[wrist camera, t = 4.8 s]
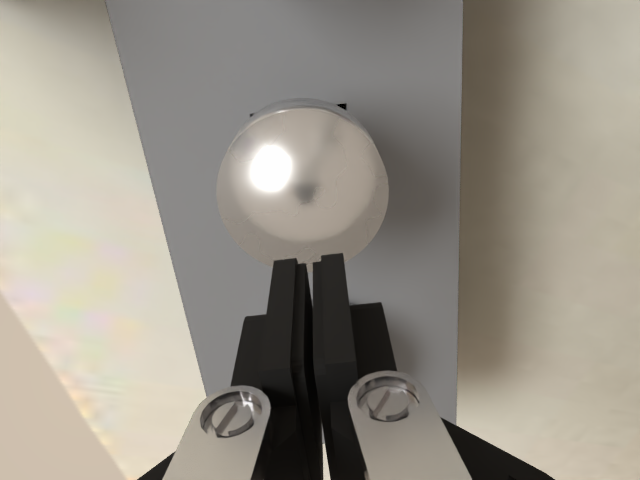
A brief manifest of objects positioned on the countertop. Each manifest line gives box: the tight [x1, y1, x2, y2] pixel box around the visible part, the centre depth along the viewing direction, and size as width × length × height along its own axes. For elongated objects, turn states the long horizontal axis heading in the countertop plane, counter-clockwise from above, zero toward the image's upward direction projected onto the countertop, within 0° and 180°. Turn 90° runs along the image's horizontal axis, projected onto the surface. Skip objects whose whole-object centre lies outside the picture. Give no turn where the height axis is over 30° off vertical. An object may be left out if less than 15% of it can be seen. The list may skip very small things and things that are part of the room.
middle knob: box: [216, 98, 389, 272], centre depth 19 cm, size 5×5×7 cm
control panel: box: [105, 0, 463, 444], centre depth 22 cm, size 12×30×6 cm, turn 6°
